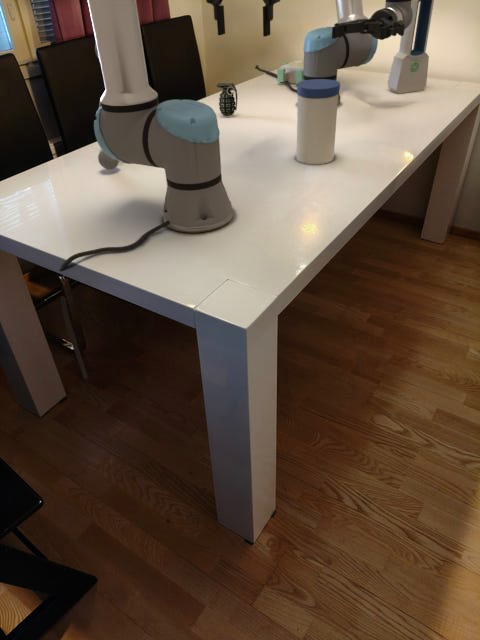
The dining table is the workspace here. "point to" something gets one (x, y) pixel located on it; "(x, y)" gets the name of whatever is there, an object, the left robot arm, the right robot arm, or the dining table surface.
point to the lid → (318, 88)
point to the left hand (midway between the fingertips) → (243, 35)
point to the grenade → (227, 99)
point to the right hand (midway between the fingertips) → (356, 33)
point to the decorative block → (291, 72)
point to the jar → (316, 129)
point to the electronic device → (412, 52)
